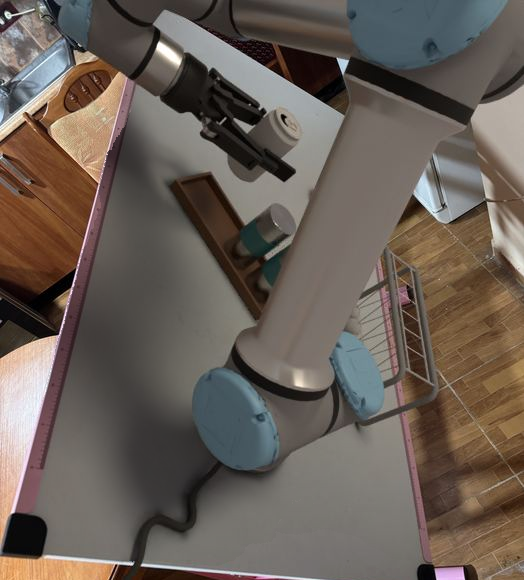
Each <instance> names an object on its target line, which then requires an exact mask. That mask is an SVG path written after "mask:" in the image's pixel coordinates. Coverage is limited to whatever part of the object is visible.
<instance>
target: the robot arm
mask: <svg viewBox="0 0 524 580" xmlns="http://www.w3.org/2000/svg"><path fill="white" fill-rule="evenodd" d="M164 11H168V12H170V13H172V14H174V15H176V16H179V17H181V18H184V19H186V20H189V21H191V22H195V23H197V24H199V25H200V26H203V27H206V28H207V29H211V30H213V31H215V32H217V33H219V34H220V35H222V36H224V37H227V38H230V39H232V40H238V41H240V42H241V41H242V42H248V41H251V40H255V41H259V42H264V43H269V44H272V45H278V46H282V47H286V48H291V49H295V50H299V51H304V52H308V53H313V54H318V55H322V56H326V57H332V58H336V59H339V60H344V61H348V62H347V64H346V66H345V70H344V71H343V74H342V79H343V83H344V84H345V88H346V92H347V94H348V97H349V98H348V99H349V104H348V107H347V109H346V112H345V114H344V116H343V118H342V121H341V124H340V126H339V129H338V130H337V133H336V136H335V138H334V141H333V143H332V145H331V147H330V150H329V152H328V154H327V157H326V160H325V162H324V164H323V166H322V169H321V171H320V174H319V176H318V178H317V181H316V183H315V185H314V188H313V190H312V192H311V195H310V198H309V199H308V202H307V204H306V208H305V209H304V211H303V214H302V216H301V219H300V221H299V223H298V226H297V227H296V232H295V233H294V234H293V235H294V236H293V238H292V241H291V243H290V244H291V245H290V247H289V250H288V252H287V254H286V257H285V259H284V262H283V264H282V266H281V269H280V271H279V274H278V276H277V278H276V281H275V283H274V285H273V288H272V290H271V293H270V295H269V297H268V300H267V302H266V304H265V307H264V309H263V312H262V314H261V316H260V318H258V321H257V324H256V325H254V326H250V327H247V328H244V329H242V330H241V331H240V332H238V334H237V336H236V338H235V340H234V343H233V345H232V347H231V350H230V352H229V355H228V357H227V360H226V362H225V363H224V365H223V366H222V367H221V366H218V367H217V366H216V367H214V368H211V369H209V370H208V371H207V372H205V373H204V374H202V375H201V376H200V378H199V379H198V380H197V381H196V384H195V386H194V388H193V392H192V400H191V406H192V407H191V409H192V414H193V421H194V424H195V425H196V427H197V432H198V434H199V436H200V438H201V440H202V442H203V444H204V446H206V448H207V450H208V451H209V452H210V453H211V454H212V455H213V456H214V457H215V458H216V459H217V461H216V462H215V464H214V465H213V466H212V467H211V469H209V470H208V471H207V472H206V473H205V474H204V475H203V476H202V477H201V478H199V480H198V481H197V482H196V483H195V484H194V486H193V487H192V489H191V491H190V494H189V500H188V504H189V505H188V506H189V518H188V521H187V522H186V523H182V522H179V521H177V520H175V519H173V518H172V517H169V516H167V515H163V514H158V515H154V516H152V517H151V518H149V519H148V520H146V522H145V524H144V525H143V526H142V529H141V531H140V534H139V535H140V536H139V540H138V546H137V551H136V552H137V553H136V555H135V560H134V562H133V564H132V565H131V567H130V569H129V570H128V571H127V573H125V575H124V576H123V577H122V580H133V579H134V577H135V576H136V575H137V574H138V572H139V570H140V568H141V567H142V565H143V562H144V559H145V555H146V549H147V542H148V539H149V538H148V537H149V534H150V532H151V530H152V528H153V527H154V526H155V525H157V524H163V525H166V526H168V527H170V528H172V529H174V530H176V531H179V532H186V531H189V530H192V529H193V528H194V526H195V525H196V523H197V518H198V517H197V516H198V512H197V511H198V510H197V496H198V494H199V493H200V490H201V489H202V488H203V487H204V486H205V485H206V484H207V483H208V482H209V481H210V480H211V479H212V478H213V477H215V475H216V474H217V473H218V472H219V471H220V469H221V468H222V467H223V466H224V465H225V466H226V467H228V468H231V469H234V470H238V471H243V472H246V473H251V474H261V473H264V472H267V471H270V470H272V469H275V468H277V467H279V466H280V465H281V464H282V463H283V462H284V461H285V460H286V459H287V458H288V457H289V456H290V455H291V454H292V453H293V452H296V451H298V450H300V449H302V448H304V447H306V446H308V445H310V444H312V443H314V442H315V441H318V440H319V439H322V438H324V437H326V436H328V435H330V434H333V433H334V432H336V431H339V430H341V429H344V428H345V427H348V426H350V425H352V424H355V423H358V421H360V420H367V419H370V418H371V417H373V416H374V415H376V414H378V413H379V412H380V411H381V409H382V408H383V406H384V403H385V389H384V385H383V377H382V374H381V370H380V369H379V366H378V364H377V361H376V359H375V358H374V357H373V356H374V355H372V353H371V351H369V350H370V349H368V348H367V346H366V345H365V344H364V342H363V343H362V342H361V341H360V340H359V339H358V338H357V337H356V336H354V335H353V334H351V333H348V332H345V331H343V330H344V328H345V326H346V324H347V322H348V320H349V318H350V316H351V314H352V312H353V310H354V308H355V306H356V304H357V305H358V302H359V301H360V300H359V298H360V296H361V294H362V292H364V291H365V288H366V287H367V285H368V282H369V281H370V279H371V276H372V275H373V273H374V270H375V269H376V267H377V265H378V263H379V261H380V258H381V257H382V255H383V254H384V249H385V247H386V245H388V244H389V241H390V240H391V237H392V235H393V233H394V231H395V229H396V227H397V225H398V223H399V221H400V220H401V218H402V215H403V214H404V211H405V210H406V208H407V205H408V204H409V202H410V200H411V197H412V196H413V194H414V192H415V190H416V188H417V187H418V184H419V182H420V180H421V178H422V176H423V175H424V172H425V170H426V169H427V166H428V164H429V163H430V161H431V158H432V156H433V154H434V153H435V150H436V149H437V147H438V145H439V143H440V142H442V141H443V140H444V139H446V138H448V137H451V136H453V135H456V134H459V133H461V132H463V131H465V129H466V128H467V127H468V125H469V123H470V121H471V120H472V117H473V115H474V113H476V112H475V111H476V110H477V108H478V106H479V105H484V104H485V105H486V104H491V103H495V102H497V101H500V100H502V99H504V98H506V97H508V96H510V95H512V94H514V93H515V92H516V91H517V90H519V89H520V88H522V87H523V86H524V0H63V2H62V4H61V7H60V9H59V12H58V17H57V24H58V27H59V29H60V30H61V31H62V32H63V33H64V34H65V35H66V36H68V37H69V38H70V39H72V40H73V41H74V42H76V43H77V45H79V46H81V47H82V48H83V49H84V50H85V52H88V53H90V54H91V55H93V56H95V57H97V58H98V59H100V60H101V61H102V62H105V63H106V64H107V65H108V66H110V67H112V68H113V69H116V71H118V72H119V73H120V74H122V75H124V76H125V77H126V78H128V79H129V80H131V81H132V82H134V84H135V85H137V86H139V87H141V88H142V89H144V90H145V91H146V92H148V93H149V94H151V95H152V96H153V97H159V99H160V102H161V103H163V104H164V105H166V106H167V107H169V108H170V109H172V110H173V111H174V112H176V113H178V114H180V115H182V114H185V113H191V114H192V115H193V116H194V117H195V118H196V119H197V120H198V121H199V122H200V123H201V126H202V129H201V130H200V131H199V136H200V138H202V139H203V140H206V141H207V142H210V143H212V144H214V145H215V146H216V147H217V148H219V149H220V150H222V151H223V152H224V153H225V154H228V155H229V156H231V157H232V158H233V159H235V160H236V161H237V162H239V163H240V164H241V165H243V166H244V167H245V168H247V169H248V170H249V171H251V170H252V169H253V168H255V167H256V166H257V165H259V166H260V167H262V168H263V169H265V170H266V172H267V173H269V174H271V175H272V176H274V177H275V178H277V179H278V180H280V181H281V182H282V183H286V182H287V181H288V180H290V179H291V178H292V177H293V176H294V175H295V174H297V169H296V168H295V167H293V166H292V165H290V164H289V163H288V162H287V161H285V160H283V159H282V158H279V157H278V156H276V155H275V154H274V153H272V152H271V151H270V150H268V149H267V148H265V149H264V150H263V149H262V148H261V147H260V146H259V145H258V144H257V143H256V142H255V141H254V140H253V139H252V138H251V137H250V136H249V135H248V134H247V133H248V132H246V131H245V129H243V128H242V127H241V125H239V124H238V123H237V121H239V122H242V123H244V124H247V125H248V126H251V127H254V126H255V125H256V124H258V123H259V122H260V121H261V120H262V119H263V118H264V117H265V116H266V115H267V114H268V112H267V109H266V108H265V107H262V108H261V109H260V107H261V104H260V102H259V101H258V100H257V99H256V98H254V97H252V96H251V95H250V94H248V93H247V92H245V91H244V90H243V89H241V88H240V87H238V86H237V85H235V84H234V83H233V82H231V81H230V80H228V79H227V78H225V77H224V75H222V74H221V73H220V72H219V71H218V70H217V69H216V68H215V67H211V68H210V70H209V69H208V66H207V65H206V64H205V63H204V62H202V61H201V60H199V58H197V57H196V56H194V55H193V54H192V53H191V52H189V51H188V52H187V51H185V49H184V47H183V46H182V45H180V44H179V43H178V42H177V41H175V40H174V39H173V38H171V37H170V36H169V35H168V34H166V33H165V32H163V31H162V30H161V29H160V28H158V27H157V26H156V25H154V23H155V22H156V21H157V19H158V18H159V17H160V16H161V14H163V12H164ZM235 119H236V120H237V121H235ZM358 300H359V301H358Z"/></svg>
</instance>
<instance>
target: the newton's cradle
mask: <svg viewBox="0 0 524 580" xmlns="http://www.w3.org/2000/svg"><path fill="white" fill-rule="evenodd" d="M383 257H384V265H385V273H386V278H384V279H383V280H381V281H379V282H378V283H376V284H375V285H373V286H371V287H369V288H367V289H366V290H363V292H362V294H361V296H360V298H359V300H358V302H359V301H360V300H363V299H364V298H366V297H367V296H369V297H367V298H366V299H364V300H363V301H362V302H360V303H359V304H358V303H357V304H356V306H355V308H354V310H353V312H352V314H351V316H350V318H349V320H348V322H347V324H346V326H345V328H344V330H343V331H345V332H348V333H351V334H353V335H354V336H356V337H357V338H358V339H359V340H360V341H361V342H362V343H363V344H364V341H367V340H370V339H372V338H375V337H378V336H380V335H384V334H386V333H389V332H392V331H393V334H391V335H390V336H388V337H387V338H386V339H384V340H383V341H381V342H379V343H378V344H376V345H375V346H374V347H372V348H370V349H368V350H369V352H371V351H372V350H374V349H375V348H377V347H378V346H380V345H381V344H383V343H384V342H385V341H387V340H388V339H390V338H391V337H393V336H394V342H395V343H394V344H395V346H393V347H390V348H387V349H384V350H380V351H379V352H376V353H371V355H372V356H375V355H377V354H381V353H383V352H386V351H389V350H393V349H396V352H395V353H393V354H392V355H391V356H389V357H388V358H386V359H385V360H383V361H382V362H380V363H379V364H377V366H378V367H379V366H381V365H382V364H384V363H385V362H386V361H388V360H390V359H392V357H394V356H395V355H396V358H397V365H395V366H392V367H390V368H386V369H384V370H380V373H384V372H386V371H389V370H392V369H394V368H395V369H396V368H397V367H398V370H397V373H396V374H395V375H394V376H392V377H391V378H388V379H385V380H384V381H383V385H384V390H385V389H388V388H390V387H391V386H394V385H396V384H398V383H400V382H401V381H402V380H403V378H404V376H405V375H406V372H407V373H409V374H411V375H412V376H414V377H416V378H418V379H419V380H421V381H423V382H424V383H426V384H427V385H429V386H431V391H430V393H428V395H426V396H424V397H421V398H419V399H416V400H413V401H410V402H408V403H406V404H403V405H401V406H397V407H396V408H393V409H390V410H388V411H384V412H383V413H380V414H377V415H375V416H371V417H369V418H368V419H367V420H360V421H358V422H357V424H358V425H360V426H361V427H368V426H371V425H374V424H377V423H379V422H382V421H385V420H387V419H389V418H392V417H394V416H398V415H400V414H402V413H405V412H408V411H410V410H413V409H415V408H418V407H421V406H423V405H426V404H428V403H431V402H433V401H434V400H435V399H436V398H437V396H438V394H439V391H440V386H439V380H438V373H437V369H436V363H435V357H434V350H433V345H432V344H433V343H432V338H431V334H430V333H431V332H430V327H429V321H428V317H427V309H426V304H425V298H424V293H423V287H422V281H421V276H420V271H419V268H418V267H417V266H415V265H409V264H408V263H407V262H405V261H404V260H403V259H402V258H400V257H399V256H398V255H396V254H395V253H394V252H393V251H391V250H390V247H389V245H388V244H387V245H386V247H385V249H384V251H383ZM395 259H396V260H398V261H399V262H400V263H402V265H404V266H405V267H403V268H402V269H400V270H398V271H397V270H396V269H397V267H396V261H395ZM408 273H409V275H410V281H411V285H410V284H409V283H407V282H406V281H405V280H403V279H402V278H401V277H403V276H404V275H406V274H408ZM398 279H400V280H401V281H403V282H404V283H405V284H407V285H408V286H409V288H407V289H405V290H401V291H400V289H399V283H398V282H399V281H398ZM385 286H387V289H388V296H386V297H384V298H381V299H379V300H376V301H373V302H371V303H368V304H366V305H364V306H361V305H363V303H365V302H366V301H368V300H369V299H370V298H371V297H373V296H374V295H375V294H376V293H378V292H379V291H380V290H382V288H384V287H385ZM411 289H412V293H413V300H411V299H409V298H408V297H407V296H406V295H404V294H402V293H403V292H406V291H409V290H411ZM400 295H402V296H403V297H404V298H406V299H407V300H409V301H410V302H411V303H412V304H410V305H407V306H404V307H402V302H401V296H400ZM388 298H389V299H388ZM386 299H387V300H386ZM383 300H386V301H385V302H383V303H381V304H380V305H379V306H378V307H377V308H375V309H374V310H373V311H371V312H370V313H369V314H367V315H366V316H365V317H363V318H362V319H361V320H358V318H359V317H360V315H361V309H362V308H366V307H368V306H371V305H373V304H376V303H378V302H381V301H383ZM388 302H389V304H390V312H388V313H386V314H382V315H380V316H377V317H374V318H372V319H370V320H367V321H364V320H365V319H367V317H369V316H370V315H372V314H373V313H374V312H376V311H377V310H378V309H380V308H381V307H383V306H384V305H385V304H386V303H388ZM360 306H361V307H360ZM411 306H414V307H415V314H416V318H415V317H414V316H412V315H410V313H408V312H406V311H405V310H403V309H407V308H409V307H411ZM403 312H404V313H405V314H407V315H408V316H410V317H411V319H412V318H413V319H414V320H415V321H412V322H410V323H407V324H405V323H404V318H403V317H404V316H403ZM388 315H391V316H390V317H388V318H386V319H385V320H383V321H382V322H381V323H380V324H378V325H376V326H375V327H374V328H373V329H372V330H370V331H369V332H367V333H366V334H364V335H363V336H359V335H360V334H361V332H362V325H364V324H366V323H369V322H372V321H374V320H377V319H381V318H382V317H385V316H388ZM390 319H391V320H392V328H393V329H390V330H387V331H384V332H381V333H379V334H375V335H374V336H371V337H366V336H367V335H369V334H370V333H372V332H373V331H374V330H376V329H377V328H378V327H380V326H382V325H383V324H384V323H385V322H387V321H389V320H390ZM361 322H362V323H361ZM416 322H417V325H418V332H419V336H418V335H417V334H416V333H414V332H413V331H410V330H409V329H407V328H406V326H409V325H412V324H414V323H416ZM406 331H408V332H410V333H411V334H413V335H414V336H416V337H417V338H416V339H414V340H411V341H410V340H409V341H408V342H407V337H406ZM365 337H366V338H365ZM363 338H365V339H363ZM419 340H420V342H421V350H422V354H420V353H419V352H417V351H415V350H414V349H412V348H410V347H409V346H408V345H407V344H410V343H414V342H417V341H419ZM408 349H409V350H411V351H413V352H414V353H416V354H418V355H419V356H421V357H418V358H415V359H412V360H410V359H409V352H408ZM420 359H423V362H424V368H425V369H424V370H425V374H426V375H425V376H426V378H424V377H422V376H421V375H419V374H418V373H415V372H414V371H412V370H411V365H410V363H412V362H415V361H417V360H420Z"/></svg>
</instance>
